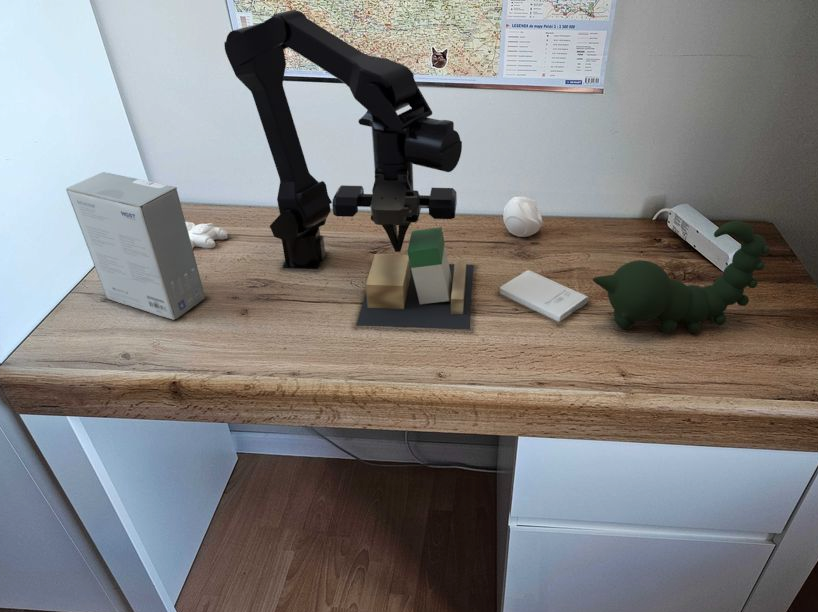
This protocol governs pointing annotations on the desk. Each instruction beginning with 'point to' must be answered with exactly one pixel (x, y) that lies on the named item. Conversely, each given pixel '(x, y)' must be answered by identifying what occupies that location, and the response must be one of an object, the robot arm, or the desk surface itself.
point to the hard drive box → (138, 243)
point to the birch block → (388, 281)
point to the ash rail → (458, 287)
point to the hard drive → (543, 295)
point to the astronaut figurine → (204, 234)
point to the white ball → (522, 217)
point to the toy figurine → (684, 287)
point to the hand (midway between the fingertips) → (398, 250)
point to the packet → (430, 265)
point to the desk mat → (421, 310)
